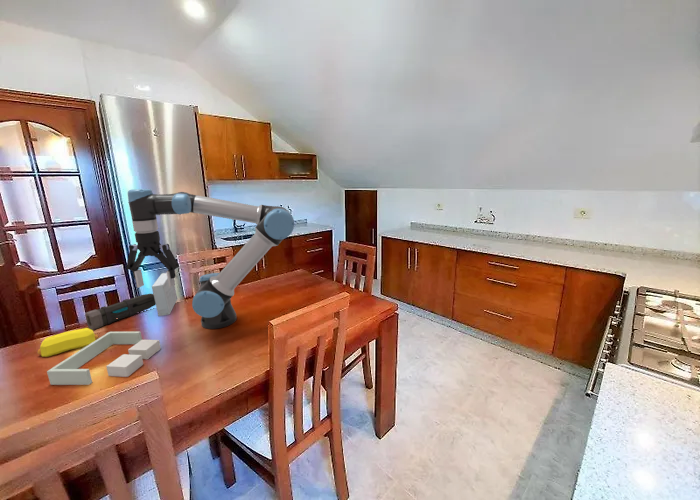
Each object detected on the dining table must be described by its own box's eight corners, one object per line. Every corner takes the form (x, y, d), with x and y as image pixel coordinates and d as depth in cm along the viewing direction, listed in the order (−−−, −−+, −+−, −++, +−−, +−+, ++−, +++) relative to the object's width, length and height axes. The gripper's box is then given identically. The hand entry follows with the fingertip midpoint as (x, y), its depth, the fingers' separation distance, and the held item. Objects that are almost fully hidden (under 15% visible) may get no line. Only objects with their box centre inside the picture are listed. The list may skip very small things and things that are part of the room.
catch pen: (142, 342, 122) (140, 331, 120) (89, 384, 97) (85, 371, 96) (111, 342, 122) (109, 331, 121) (50, 384, 97) (46, 371, 96)
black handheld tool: (162, 311, 156) (93, 331, 130) (155, 312, 159) (86, 331, 133) (159, 291, 156) (88, 306, 130) (151, 292, 159) (81, 307, 133)
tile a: (160, 349, 117) (159, 340, 116) (147, 359, 110) (145, 350, 109) (144, 348, 118) (142, 339, 117) (130, 359, 111) (128, 349, 110)
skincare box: (166, 300, 164) (161, 272, 160) (177, 299, 166) (173, 271, 162) (156, 316, 144) (151, 285, 141) (169, 314, 146) (164, 284, 143)
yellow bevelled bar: (39, 352, 116) (36, 361, 110) (35, 337, 114) (32, 345, 108) (99, 336, 127) (99, 344, 121) (96, 322, 125) (96, 329, 119)
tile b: (143, 364, 107) (141, 355, 106) (127, 377, 101) (125, 367, 100) (125, 363, 108) (123, 354, 107) (108, 376, 101) (106, 366, 100)
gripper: (184, 229, 114) (192, 282, 119) (122, 229, 115) (132, 283, 120) (172, 232, 107) (181, 289, 112) (106, 233, 107) (118, 290, 113)
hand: (156, 286), depth 116 cm, fingers open, 12 cm apart
